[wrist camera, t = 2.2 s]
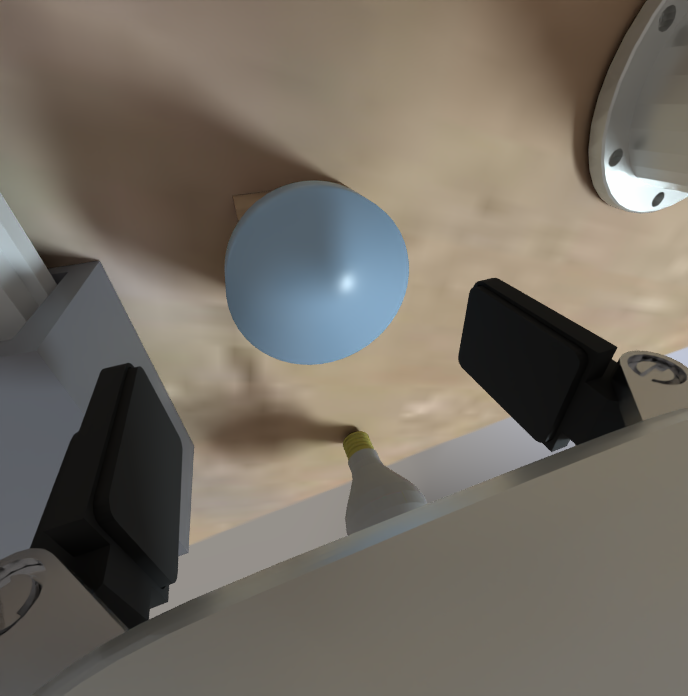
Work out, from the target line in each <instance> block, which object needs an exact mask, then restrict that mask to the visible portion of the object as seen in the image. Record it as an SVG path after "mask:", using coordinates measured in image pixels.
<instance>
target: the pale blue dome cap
mask: <svg viewBox="0 0 688 696" xmlns="http://www.w3.org/2000/svg"><path fill="white" fill-rule="evenodd" d="M224 268H225V283H226V297H227V302H228V307H229V310H230V313H231V315H232V318H233V320H234V322H235V324H236V325H237V327H238V329H239V330H240V332H241V333H242V334H243V335H244V337H245V338H246V339H247V340H248V341H249V342H250V343H251V344H252V345H253V346H255V347H256V348H258V349H259V350H260V351H262V352H264V353H265V354H267V355H269V356H271V357H273V358H276V359H278V360H281V361H285V362H289V363H295V364H307V365H312V364H323V363H328V362H333V361H336V360H339V359H342V358H345V357H347V356H350V355H352V354H354V353H356V352H358V351H359V350H361V349H363V348H364V347H366V346H367V345H369V344H370V343H371V342H372V341H374V340H375V339H376V338H377V337H378V336H379V335H380V334H381V333H382V332H383V331H384V330H385V329H386V328H387V326H388V325H389V324H390V323H391V321H392V320H393V318H394V317H395V315H396V314H397V312H398V310H399V308H400V306H401V304H402V301H403V298H404V296H405V292H406V288H407V284H408V276H409V261H408V254H407V249H406V246H405V242H404V240H403V238H402V235H401V233H400V231H399V229H398V228H397V226H396V225H395V223H394V222H393V220H392V219H391V218H390V217H389V216H388V215H387V214H386V213H385V212H384V211H383V210H382V209H381V208H379V207H378V206H377V205H376V204H374V203H373V202H371V201H369V200H368V199H366V198H365V197H363V196H362V195H360V194H358V193H357V192H355V191H353V190H352V189H350V188H347V187H345V186H342V185H340V184H336V183H332V182H328V181H317V180H314V181H301V182H296V183H291V184H288V185H285V186H282V187H280V188H277V189H275V190H273V191H272V192H270V193H268V194H266V195H265V196H263V197H262V198H261V199H259V200H258V201H256V202H255V203H254V204H253V205H252V206H251V207H250V208H249V209H248V210H247V211H246V212H245V214H244V215H243V216H242V218H241V219H240V220H239V222H238V223H237V225H236V227H235V229H234V230H233V232H232V235H231V237H230V240H229V243H228V246H227V250H226V255H225V266H224Z"/></svg>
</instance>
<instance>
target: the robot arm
mask: <svg viewBox="0 0 688 696" xmlns="http://www.w3.org/2000/svg"><path fill="white" fill-rule="evenodd" d="M588 151H589V170H590V174H591V178H592V182H593V186H594V188H595V189H596V191H597V193H598V194H599V196H600V198H601V199H603V200H604V201H605V202H606V203H607V204H609V205H610V206H612V207H615V208H618V209H621V210H624V211H628V212H634V213H650V212H655V211H657V210H660V209H663V208H666V207H669V206H671V205H673V204H675V203H677V202H679V201H680V200H682V199H684V198H686V197H688V0H647V1H646V2H645V4H644V5H643V7H642V9H641V10H640V12H639V14H638V15H637V17H636V18H635V20H634V22H633V23H632V25H631V27H630V28H629V30H628V31H627V33H626V35H625V36H624V38H623V40H622V43H621V45H620V47H619V49H618V51H617V53H616V55H615V57H614V59H613V61H612V63H611V65H610V67H609V70H608V72H607V75H606V78H605V80H604V83H603V86H602V88H601V91H600V94H599V96H598V100H597V104H596V108H595V112H594V116H593V120H592V124H591V131H590V140H589V148H588ZM616 349H617V347H616V346H615V345H613V344H611V343H609V342H608V341H606V340H604V339H602V338H601V337H599V336H597V335H595V334H594V333H592V332H590V331H589V330H587V329H585V328H583V327H582V326H580V325H578V324H576V323H575V322H573V321H571V320H569V319H568V318H566V317H564V316H562V315H561V314H559V313H557V312H555V311H554V310H552V309H550V308H548V307H547V306H545V305H543V304H542V303H540V302H538V301H536V300H535V299H533V298H531V297H529V296H528V295H526V294H524V293H522V292H521V291H519V290H517V289H515V288H514V287H512V286H510V285H508V284H507V283H505V282H503V281H501V280H500V279H498V278H491V279H487V280H482V281H478V282H476V283H475V285H474V287H473V288H472V289H471V290H470V293H469V298H468V304H467V310H466V315H465V321H464V327H463V333H462V338H461V344H460V350H459V356H458V360H459V363H460V365H461V367H462V368H463V369H464V370H465V371H466V372H467V373H468V374H469V375H470V376H471V377H472V378H473V379H474V380H475V381H476V382H477V383H478V384H479V385H480V386H481V387H482V388H483V389H484V390H485V391H486V392H487V393H488V394H489V395H490V396H491V397H492V398H493V399H494V400H495V401H496V402H497V403H498V404H499V405H500V406H501V407H502V408H503V409H504V410H505V411H506V412H507V413H508V414H509V415H510V416H511V417H512V418H513V419H514V420H516V422H517V423H519V425H520V426H521V427H523V428H524V429H525V430H526V431H527V432H528V433H529V434H530V435H531V436H532V437H533V438H534V439H535V440H536V441H538V442H540V443H543V444H544V445H545V446H546V447H547V448H548V449H549V450H550V451H551V452H552V451H555V450H558V449H560V448H563V447H565V446H567V444H568V442H569V441H570V440H571V441H573V442H574V443H575V446H574V447H572V448H569V449H566V450H564V451H561V452H559V453H556V454H554V455H551V456H548V457H546V458H544V459H541V460H538V461H535V462H533V463H531V464H528V465H525V466H523V467H520V468H518V469H515V470H512V471H510V472H507V473H505V474H502V475H500V476H497V477H495V478H492V479H489V480H487V481H484V482H482V483H479V484H477V485H474V486H472V487H469V488H467V489H464V490H461V491H459V492H456V493H454V494H451V495H449V496H446V497H444V498H441V499H439V500H436V501H434V502H431V503H428V504H426V505H423V506H421V507H418V508H416V509H413V510H411V511H408V512H406V513H403V514H401V515H398V516H396V517H393V518H391V519H388V520H386V521H383V522H381V523H378V524H376V525H373V526H371V527H368V528H366V529H363V530H361V531H358V532H356V533H353V534H351V535H348V536H346V537H343V538H341V539H338V540H336V541H333V542H331V543H328V544H326V545H323V546H321V547H318V548H316V549H313V550H311V551H308V552H306V553H303V554H301V555H298V556H296V557H293V558H290V559H288V560H286V561H283V562H280V563H278V564H276V565H273V566H271V567H269V568H266V569H264V570H261V571H259V572H257V573H254V574H252V575H250V576H247V577H245V578H243V579H240V580H237V581H235V582H233V583H231V584H228V585H226V586H223V587H221V588H218V589H216V590H214V591H211V592H209V593H206V594H204V595H202V596H199V597H197V598H195V599H192V600H190V601H188V602H186V603H184V604H182V605H179V606H177V607H175V608H173V609H171V610H169V611H166V612H164V613H162V614H160V615H158V616H156V617H154V618H152V619H149V611H150V609H151V608H153V607H156V606H158V605H161V604H164V603H166V602H168V594H169V593H168V591H169V585H170V584H172V583H175V581H176V579H177V573H178V550H179V526H180V502H181V478H182V453H183V448H182V443H181V439H180V437H179V435H178V433H177V431H176V429H175V427H174V425H173V424H172V422H171V420H170V418H169V416H168V414H167V412H166V410H165V408H164V407H163V405H162V403H161V401H160V399H159V397H158V395H157V393H156V392H155V390H154V388H153V386H152V384H151V382H150V380H149V378H148V376H147V375H146V373H145V371H144V369H143V368H142V367H141V366H138V367H134V366H133V365H132V364H131V363H125V364H121V365H116V366H112V367H108V368H104V369H102V370H101V372H100V374H99V377H98V380H97V382H96V385H95V388H94V391H93V394H92V396H91V399H90V402H89V405H88V407H87V410H86V413H85V416H84V418H83V421H82V424H81V427H80V429H79V431H78V432H77V433H75V434H74V435H73V437H72V439H71V440H70V443H69V446H68V448H67V451H66V454H65V456H64V459H63V461H62V464H61V467H60V469H59V472H58V475H57V477H56V480H55V483H54V485H53V488H52V491H51V493H50V496H49V499H48V501H47V504H46V506H45V509H44V512H43V514H42V517H41V520H40V522H39V525H38V528H37V530H36V533H35V536H34V538H33V541H32V544H31V546H30V549H26V550H23V551H19V552H15V553H13V554H11V555H9V556H7V557H5V558H3V559H1V560H0V696H688V368H687V367H686V366H684V365H683V364H682V363H680V362H678V361H676V360H674V359H672V358H670V357H667V356H664V355H661V354H658V353H653V352H648V351H630V352H627V353H624V354H622V356H621V357H620V359H619V361H618V362H615V361H614V360H612V357H613V355H614V353H615V351H616Z"/></svg>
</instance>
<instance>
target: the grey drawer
mask: <svg viewBox="0 0 688 696" xmlns="http://www.w3.org/2000/svg"><path fill="white" fill-rule="evenodd" d="M56 286H57V284H56V282H55V280H54V279H53V277H52V276H51V274H50V272H49V271H48V269H47V267H46V266H45V264H44V263H43V261H42V259H41V258H40V256H39V254H38V253H37V251H36V250H35V248H34V246H33V245H32V243H31V241H30V240H29V238H28V237H27V235H26V233H25V232H24V230H23V228H22V227H21V225H20V224H19V222H18V220H17V219H16V217H15V215H14V214H13V212H12V211H11V209H10V207H9V206H8V204H7V202H6V201H5V199H4V198H3V196H2V194H1V193H0V341H5V340H10V339H12V338H13V337H14V336H15V335H16V334H17V332H18V331H19V330H20V329H21V328H22V326H23V325H24V324H25V323H26V322H27V320H28V319H29V318H30V317H31V316H32V315H33V313H34V312H35V311H36V310H37V309H38V307H39V306H40V305H41V304H42V303H43V301H44V300H45V299H46V298H47V297H48V295H49V294H50V293H51V292H52V291H53V289H54V288H55V287H56Z"/></svg>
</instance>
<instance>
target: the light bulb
mask: <svg viewBox="0 0 688 696" xmlns="http://www.w3.org/2000/svg"><path fill="white" fill-rule="evenodd" d="M343 447H344V450H345V453H346V454H347V457H348V465H349V467H350V470H351V472H352V478H353V480H352V485H351V491H350V496H349V500H348V504H347V510H346V517H345V520H346V530H347V535H351V534H353V533H356V532H358V531H361V530H363V529H366V528H368V527H371V526H373V525H376V524H378V523H381V522H383V521H386V520H388V519H391V518H393V517H396V516H398V515H401V514H403V513H406V512H408V511H411V510H413V509H416V508H418V507H421V506H423V505H426V504H428V503H427V501H426V499H425V497H424V495H423V494H422V493H421V492H420V491H419V489H418V488H417V487H416V486H415V485H414V484H412V483H411V482H410V481H408V480H407V479H405V478H403V477H402V476H400V475H399V474H397V473H395V472H393V471H392V470H390V469H389V468H387V467H386V466H384V465H383V463H382V462H381V461H380V459H379V456H378V454H377V452H376V451H375V450H374V448H373V446H372V443H371V442H370V439H369V436H368V434H366V433H365V432H362V431H358V432H353V433H351V434H350V435H348V436H347V437H346V438H345V439H344V441H343Z"/></svg>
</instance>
